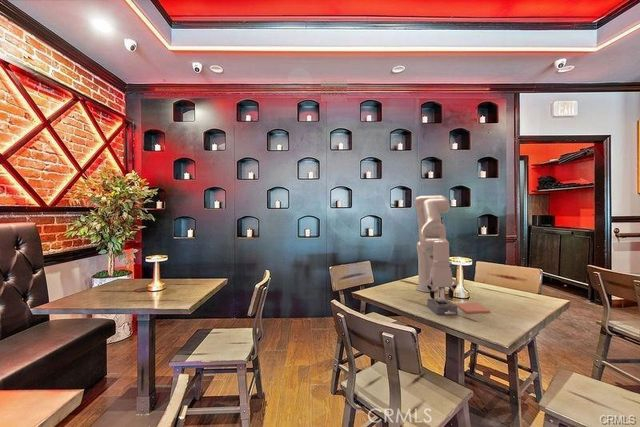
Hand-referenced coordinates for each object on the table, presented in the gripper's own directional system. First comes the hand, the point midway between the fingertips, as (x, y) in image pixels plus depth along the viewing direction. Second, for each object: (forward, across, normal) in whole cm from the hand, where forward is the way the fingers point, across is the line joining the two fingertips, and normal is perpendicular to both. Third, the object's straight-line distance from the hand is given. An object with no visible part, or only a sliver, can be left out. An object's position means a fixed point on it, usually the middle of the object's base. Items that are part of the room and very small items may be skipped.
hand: (441, 298), depth 146 cm
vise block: (+6, 0, +2) cm, 7 cm away
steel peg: (+6, 0, 0) cm, 6 cm away
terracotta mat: (+6, -16, -1) cm, 17 cm away
